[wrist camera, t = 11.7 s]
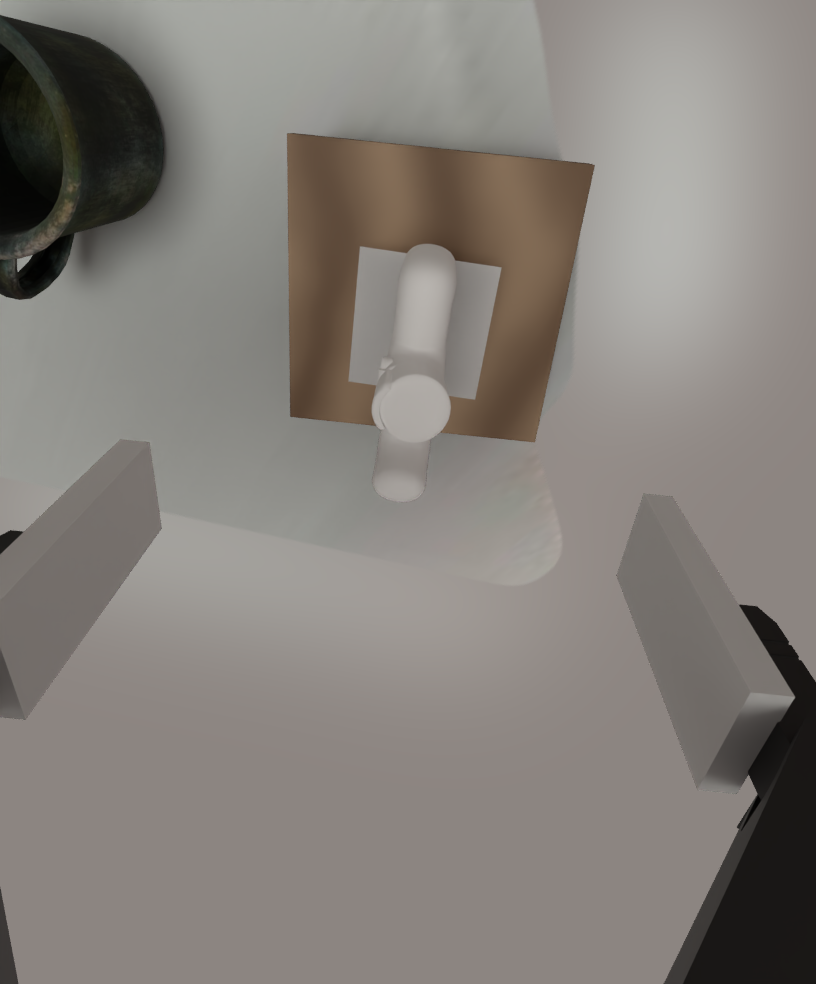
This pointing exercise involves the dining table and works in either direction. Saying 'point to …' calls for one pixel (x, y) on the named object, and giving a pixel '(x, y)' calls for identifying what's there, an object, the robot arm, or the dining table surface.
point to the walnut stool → (440, 221)
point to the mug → (66, 148)
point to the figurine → (417, 351)
